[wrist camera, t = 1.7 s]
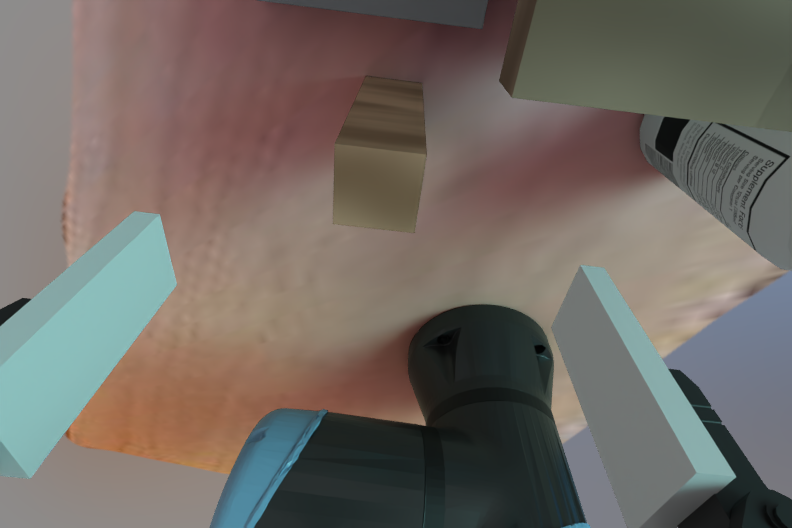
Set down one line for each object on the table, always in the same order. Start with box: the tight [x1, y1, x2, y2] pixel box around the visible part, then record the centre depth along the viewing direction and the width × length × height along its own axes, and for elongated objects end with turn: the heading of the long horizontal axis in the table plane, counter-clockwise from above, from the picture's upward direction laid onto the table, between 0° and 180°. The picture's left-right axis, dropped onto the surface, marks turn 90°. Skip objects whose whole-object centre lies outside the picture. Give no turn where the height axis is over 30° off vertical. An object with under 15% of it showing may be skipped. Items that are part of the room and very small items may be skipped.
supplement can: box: [640, 114, 792, 271], centre depth 24 cm, size 8×8×15 cm
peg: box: [333, 76, 427, 233], centre depth 25 cm, size 4×4×14 cm
